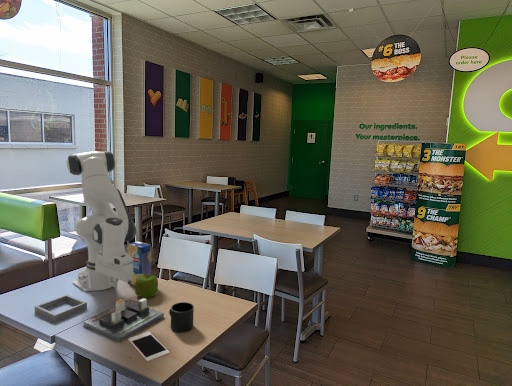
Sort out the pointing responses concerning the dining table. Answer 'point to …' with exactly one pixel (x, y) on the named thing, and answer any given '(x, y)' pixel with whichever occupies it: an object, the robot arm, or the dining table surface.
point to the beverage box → (140, 259)
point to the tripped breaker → (120, 305)
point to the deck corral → (54, 317)
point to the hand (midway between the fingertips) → (113, 285)
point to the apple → (146, 286)
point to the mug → (181, 317)
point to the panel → (127, 333)
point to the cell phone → (148, 346)
